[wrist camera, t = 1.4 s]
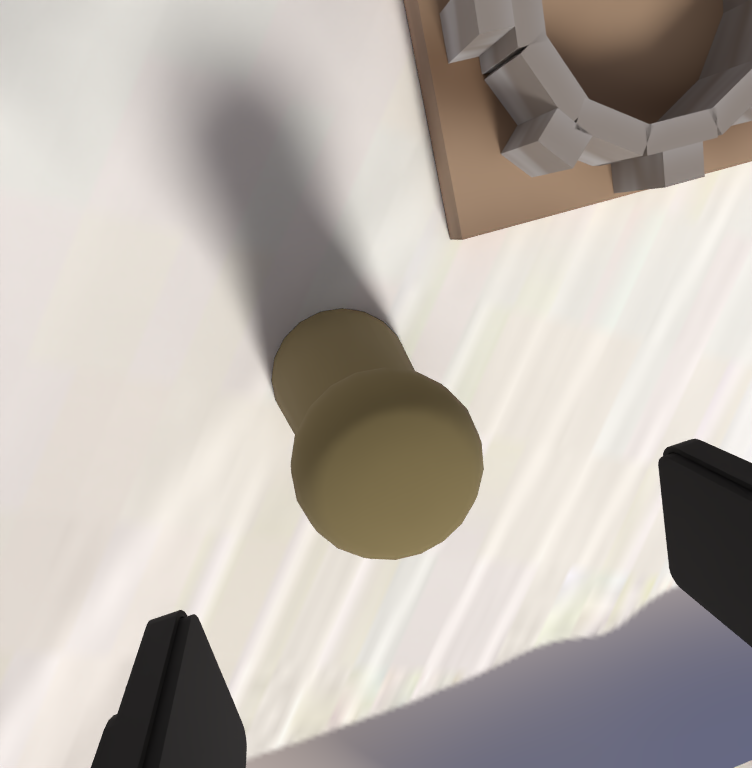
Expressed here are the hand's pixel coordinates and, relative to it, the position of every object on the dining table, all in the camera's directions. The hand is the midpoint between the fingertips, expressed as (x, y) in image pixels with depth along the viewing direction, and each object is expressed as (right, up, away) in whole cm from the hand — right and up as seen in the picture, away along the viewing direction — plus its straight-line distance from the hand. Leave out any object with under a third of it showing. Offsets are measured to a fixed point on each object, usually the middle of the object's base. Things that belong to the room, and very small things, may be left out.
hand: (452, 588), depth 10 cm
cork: (-3, +4, +13) cm, 14 cm away
